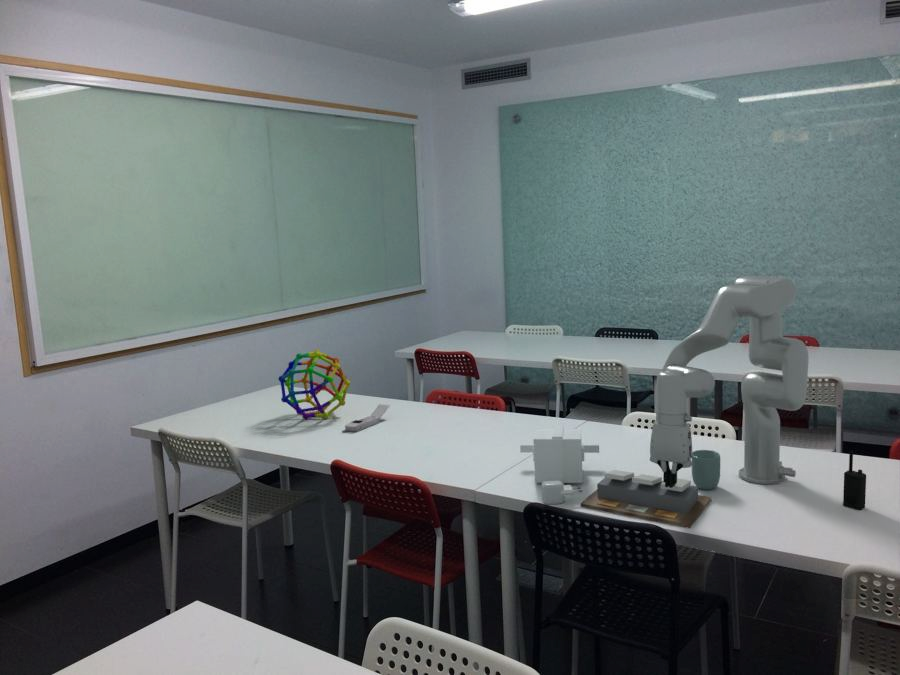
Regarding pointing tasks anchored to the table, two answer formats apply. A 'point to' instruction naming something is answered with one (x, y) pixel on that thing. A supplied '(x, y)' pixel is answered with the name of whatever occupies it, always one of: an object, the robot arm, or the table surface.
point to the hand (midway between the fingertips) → (670, 485)
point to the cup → (706, 469)
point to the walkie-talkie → (854, 487)
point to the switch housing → (648, 495)
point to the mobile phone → (367, 419)
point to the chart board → (648, 510)
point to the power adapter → (556, 492)
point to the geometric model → (313, 391)
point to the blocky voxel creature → (558, 454)
